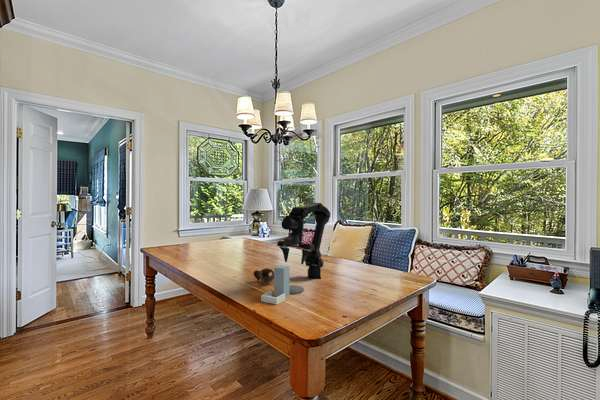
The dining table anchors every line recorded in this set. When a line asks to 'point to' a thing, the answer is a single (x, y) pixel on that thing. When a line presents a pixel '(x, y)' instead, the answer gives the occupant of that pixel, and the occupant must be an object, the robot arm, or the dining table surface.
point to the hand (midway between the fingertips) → (293, 263)
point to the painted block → (281, 280)
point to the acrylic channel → (272, 298)
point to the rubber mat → (296, 289)
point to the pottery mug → (264, 275)
